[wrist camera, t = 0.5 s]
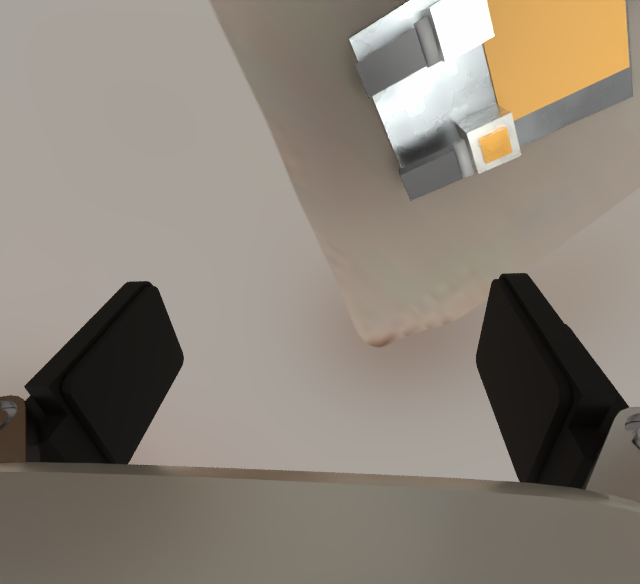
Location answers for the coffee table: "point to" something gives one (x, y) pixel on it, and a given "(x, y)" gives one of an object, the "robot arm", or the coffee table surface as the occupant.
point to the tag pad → (552, 49)
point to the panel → (467, 89)
